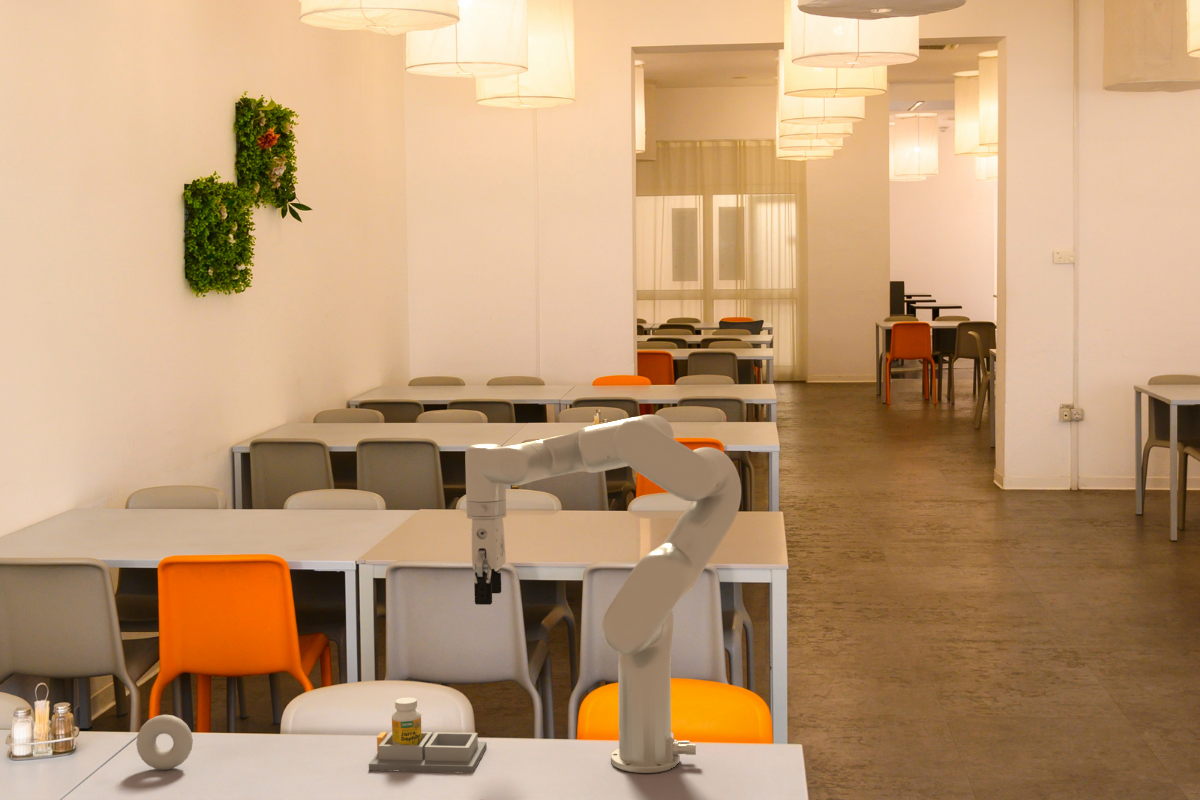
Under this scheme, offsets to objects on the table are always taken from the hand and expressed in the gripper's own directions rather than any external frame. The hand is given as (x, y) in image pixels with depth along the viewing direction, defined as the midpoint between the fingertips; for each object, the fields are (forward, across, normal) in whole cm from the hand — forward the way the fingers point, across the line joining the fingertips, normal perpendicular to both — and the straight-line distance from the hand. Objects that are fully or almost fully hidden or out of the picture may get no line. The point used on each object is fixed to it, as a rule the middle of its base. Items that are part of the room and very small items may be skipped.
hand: (488, 598), depth 225 cm
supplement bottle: (+27, -9, +14) cm, 32 cm away
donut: (+28, -17, +57) cm, 66 cm away
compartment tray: (+28, -9, +10) cm, 31 cm away
